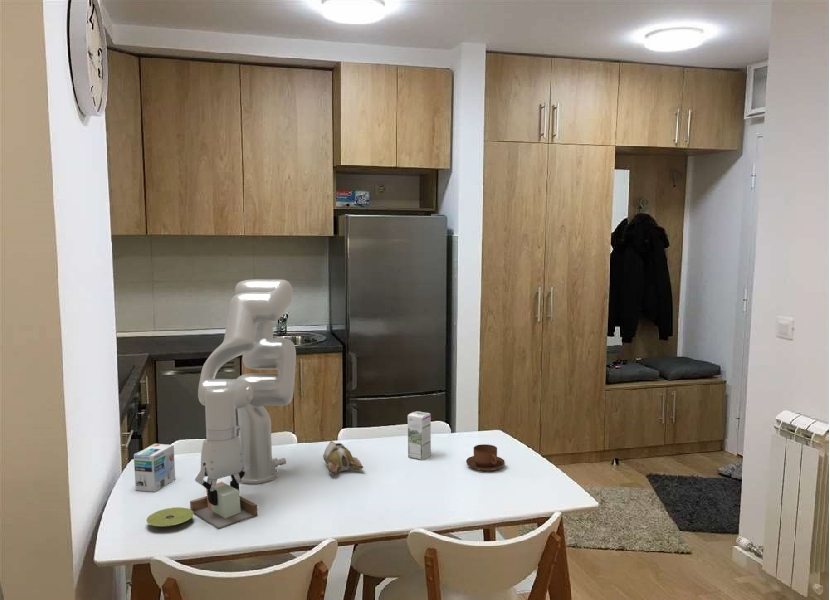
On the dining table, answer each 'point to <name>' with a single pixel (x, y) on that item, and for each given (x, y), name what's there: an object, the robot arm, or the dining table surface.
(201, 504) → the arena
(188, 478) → the dining table surface
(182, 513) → the green flat disc
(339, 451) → the ceramic sculpture
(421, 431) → the syrup box
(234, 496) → the peach green box
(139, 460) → the light bulb box
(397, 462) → the dining table surface
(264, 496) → the dining table surface
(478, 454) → the cup and saucer
